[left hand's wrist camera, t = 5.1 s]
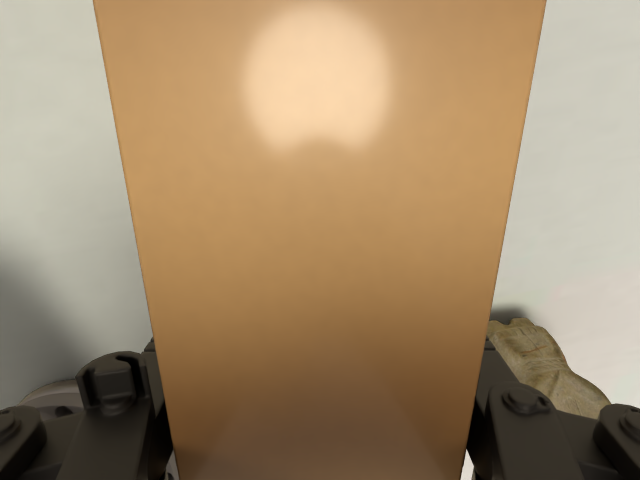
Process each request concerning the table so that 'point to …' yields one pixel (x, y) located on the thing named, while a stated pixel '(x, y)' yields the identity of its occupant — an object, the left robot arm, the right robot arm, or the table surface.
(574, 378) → the sculpture
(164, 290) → the bar
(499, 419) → the left robot arm
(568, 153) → the table surface
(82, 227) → the table surface
